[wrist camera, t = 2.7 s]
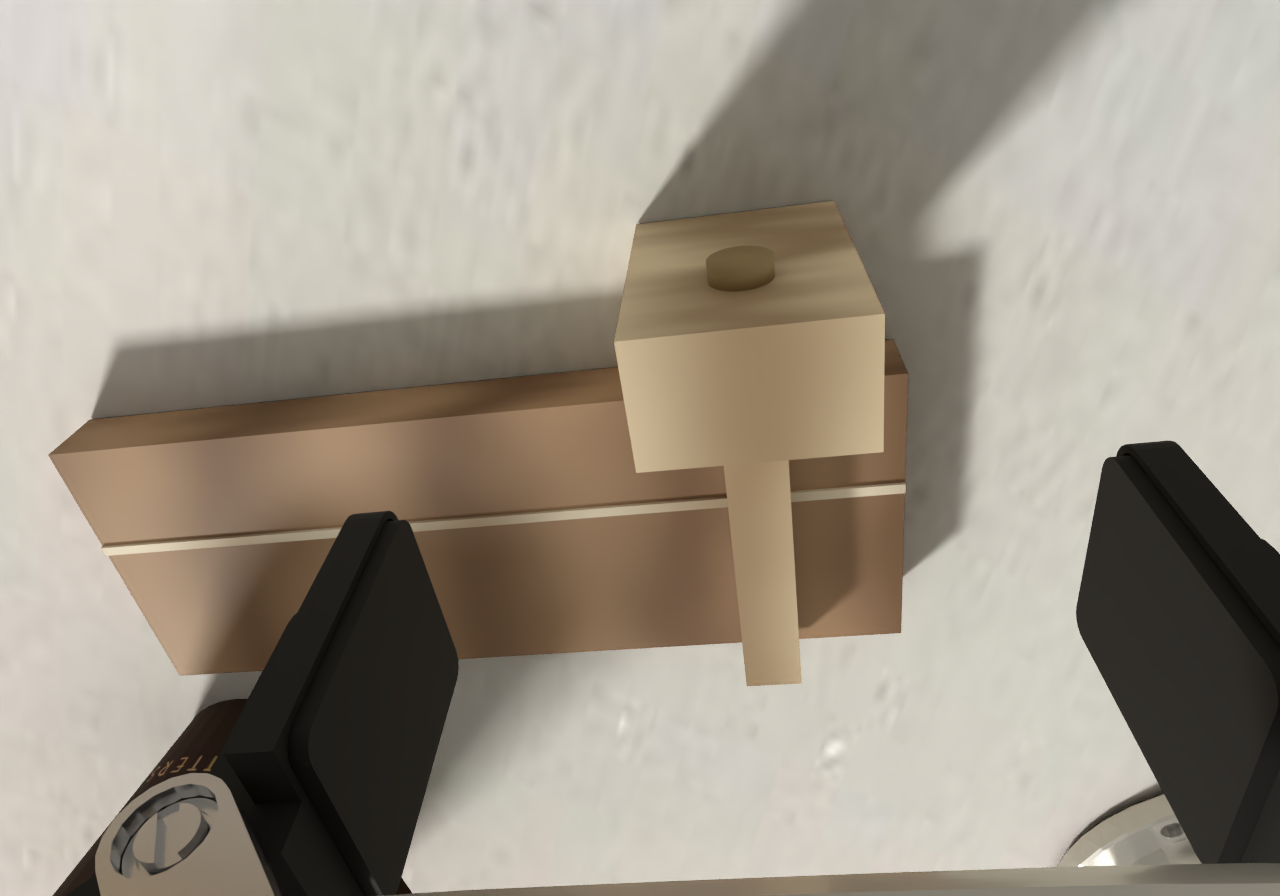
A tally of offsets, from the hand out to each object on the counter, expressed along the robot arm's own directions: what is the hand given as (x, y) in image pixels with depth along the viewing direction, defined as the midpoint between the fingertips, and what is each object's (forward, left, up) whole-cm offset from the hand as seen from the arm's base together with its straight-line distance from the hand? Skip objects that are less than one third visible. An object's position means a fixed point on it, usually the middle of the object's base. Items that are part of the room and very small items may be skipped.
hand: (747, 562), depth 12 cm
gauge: (0, +5, -13) cm, 14 cm away
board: (+8, +8, -13) cm, 16 cm away
